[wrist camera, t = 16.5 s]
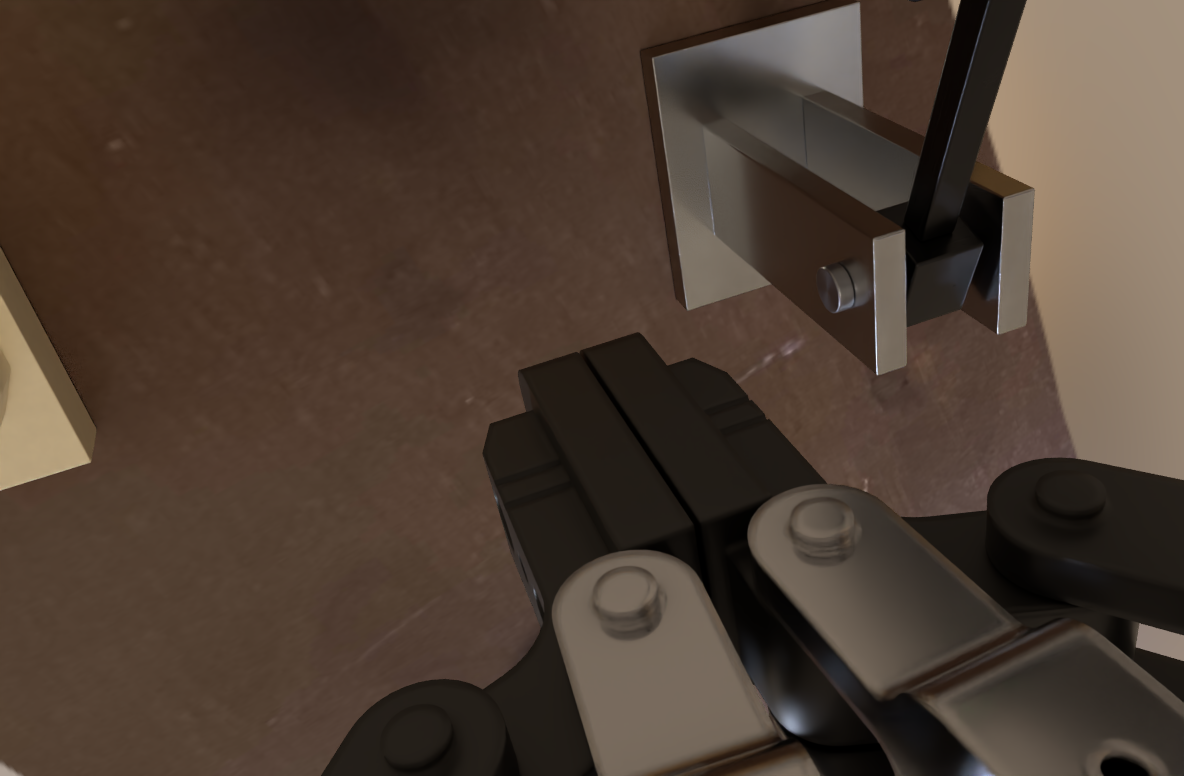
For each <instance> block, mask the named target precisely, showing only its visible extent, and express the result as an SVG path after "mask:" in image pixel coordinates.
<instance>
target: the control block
mask: <svg viewBox="0 0 1184 776" xmlns="http://www.w3.org/2000/svg"><path fill="white" fill-rule="evenodd" d="M96 431H97V429H96V427H95V425H94V423H93V422H92V420H91V418H90V416H89V414H88V412H87V410H86V408H85V406H84V405H83V403H82V401H81V399H80V397H79V395H78V393H77V391H76V389H75V387H74V386H73V384H72V382H71V380H70V378H69V376H68V374H67V372H66V370H65V369H64V367H63V365H62V363H61V361H60V359H59V357H58V355H57V353H56V351H55V350H54V348H53V346H52V344H51V342H50V340H49V338H48V336H47V334H46V332H45V331H44V329H43V327H42V325H41V323H40V321H39V319H38V317H37V315H36V314H35V312H34V310H33V308H32V306H31V304H30V302H29V300H28V298H27V296H26V295H25V293H24V291H23V289H22V287H21V285H20V283H19V281H18V279H17V278H16V276H15V274H14V272H13V270H12V268H11V266H10V264H9V262H8V260H7V259H6V257H5V255H4V253H3V251H2V249H1V247H0V490H3V489H6V488H10V487H13V486H16V485H19V484H23V483H26V482H29V481H32V480H35V479H39V478H42V477H45V476H48V475H51V474H55V473H58V472H61V471H64V470H68V469H71V468H74V467H77V466H80V465H84V464H87V463H90V462H91V460H92V454H93V448H94V442H95V437H96Z"/></svg>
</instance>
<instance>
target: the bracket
mask: <svg viewBox="0 0 1184 776" xmlns="http://www.w3.org/2000/svg"><path fill="white" fill-rule="evenodd" d="M641 59H642V66H643V73H644V80H645V87H646V94H647V101H648V107H649V114H650V121H651V128H652V135H653V142H654V149H655V156H656V163H657V170H658V176H659V183H660V190H661V197H662V204H663V211H664V218H665V225H666V232H667V238H668V245H669V252H670V259H671V266H672V273H673V280H674V287H675V294H676V299H677V300H678V301H679V302H680V303H681V305H682V306H683V307H684V308H685V309H686V310H687V311H689V310H692V309H695V308H698V307H702V306H705V305H708V304H711V303H714V302H717V301H720V300H724V299H727V298H730V297H733V296H736V295H739V294H743V293H746V292H749V291H752V290H755V289H758V288H761V287H765V286H768V285H771V284H772V285H773V286H774V287H775V288H777V289H778V290H779V291H780V292H781V293H782V294H784V295H785V296H786V297H787V298H788V299H789V300H791V301H792V302H793V303H794V304H795V305H796V306H797V307H799V308H800V309H801V310H802V311H803V312H804V313H806V314H807V315H808V316H809V317H810V318H811V319H813V320H814V321H815V322H816V323H817V324H818V325H820V326H821V327H822V328H823V329H824V330H825V331H826V332H828V333H829V334H830V335H831V336H832V337H833V338H835V339H836V340H837V341H838V342H839V343H840V344H842V345H843V346H844V347H845V348H846V349H847V350H848V351H850V352H851V353H852V354H853V355H854V356H855V357H857V358H858V359H859V360H860V361H861V362H862V363H864V364H865V365H866V366H867V367H868V368H869V369H871V370H872V371H873V372H874V373H875V374H876V375H881V374H884V373H887V372H890V371H893V370H896V369H899V368H902V367H905V366H906V365H907V335H906V232H905V229H904V228H902V227H901V226H899V225H897V224H896V223H894V222H893V221H891V220H889V219H888V218H886V217H885V216H883V215H881V214H880V213H878V212H876V211H878V210H881V209H884V208H887V207H891V206H894V205H897V204H900V203H903V202H907V201H909V198H910V194H911V190H912V186H913V182H914V178H915V175H916V171H917V167H918V163H919V159H920V155H921V151H922V148H923V144H924V140H925V137H924V136H922V135H920V134H918V133H916V132H914V131H912V130H909V129H907V128H905V127H903V126H901V125H899V124H897V123H895V122H893V121H890V120H888V119H886V118H884V117H882V116H880V115H878V114H876V113H873V112H871V111H869V110H867V109H865V108H863V77H862V45H861V13H860V2H859V1H856V0H828V1H824V2H821V3H817V4H813V5H809V6H806V7H802V8H798V9H794V10H791V11H787V12H783V13H779V14H776V15H772V16H768V17H764V18H761V19H757V20H753V21H750V22H746V23H742V24H738V25H735V26H731V27H727V28H723V29H720V30H716V31H712V32H708V33H705V34H701V35H697V36H693V37H690V38H686V39H682V40H678V41H675V42H671V43H667V44H664V45H660V46H656V47H652V48H649V49H645V50H642V51H641ZM1034 191H1035V190H1034V188H1032V187H1030V186H1028V185H1026V184H1024V183H1022V182H1019V181H1017V180H1015V179H1013V178H1011V177H1009V176H1007V175H1005V174H1003V173H1000V172H998V171H996V170H994V169H992V168H990V167H988V166H986V165H984V164H981V163H979V162H977V161H976V163H975V166H974V169H973V172H972V175H971V178H970V182H969V185H968V188H967V191H966V194H965V197H964V201H963V204H962V207H961V210H960V213H959V215H960V217H961V218H962V219H963V220H964V221H965V222H966V224H967V225H968V226H969V227H970V228H971V229H972V230H973V232H974V233H975V234H976V235H977V236H978V237H979V239H980V240H981V241H982V242H983V245H984V246H983V249H982V252H981V254H980V257H979V260H978V263H977V266H976V269H975V271H974V274H973V277H972V280H971V283H970V286H969V288H968V291H967V294H966V297H965V300H964V303H963V305H962V308H961V310H962V311H964V312H965V313H966V314H968V315H969V316H971V317H972V318H974V319H975V320H977V321H978V322H980V323H981V324H983V325H984V326H986V327H987V328H989V329H990V330H991V331H993V332H994V333H996V334H998V335H1000V334H1003V333H1006V332H1008V331H1011V330H1014V329H1017V328H1020V327H1023V326H1025V325H1026V321H1027V305H1028V289H1029V273H1030V256H1031V241H1032V225H1033V208H1034Z"/></svg>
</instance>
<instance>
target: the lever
mask: <svg viewBox="0 0 1184 776" xmlns="http://www.w3.org/2000/svg"><path fill="white" fill-rule="evenodd" d="M909 1H913V2H917V1H921V0H909ZM1026 1H1027V0H961V1H960V5H959V9H958V12H957V16H956V20H955V24H954V28H953V32H952V36H951V39H950V43H949V47H948V51H947V55H946V59H945V63H944V66H943V70H942V74H941V78H940V82H939V86H938V90H937V94H936V97H935V101H934V105H933V109H932V113H931V117H930V121H929V124H928V128H927V132H926V136H925V140H924V144H923V148H922V151H921V155H920V159H919V163H918V167H917V171H916V175H915V178H914V182H913V186H912V190H911V194H910V198H909V201H907V202H903V203H900V204H897V205H894V206H891V207H887V208H884V209H881V210H878V211H876V212H878V213H880V214H881V215H883V216H885V217H886V218H888V219H889V220H891V221H893V222H894V223H896V224H897V225H899V226H901V227H902V228H904V229H905V232H906V327H909V326H912V325H915V324H918V323H921V322H924V321H927V320H930V319H933V318H936V317H939V316H942V315H945V314H948V313H951V312H954V311H957V310H960V309H961V308H962V305H963V303H964V300H965V297H966V294H967V291H968V288H969V286H970V283H971V280H972V277H973V274H974V271H975V269H976V266H977V263H978V260H979V257H980V254H981V252H982V249H983V246H984V245H983V242H982V241H981V240H980V239H979V237H978V236H977V235H976V234H975V233H974V232H973V230H972V229H971V228H970V227H969V226H968V225H967V224H966V222H965V221H964V220H963V219H962V218H961V217H960V215H959V213H960V210H961V207H962V204H963V201H964V197H965V194H966V191H967V188H968V185H969V182H970V178H971V175H972V172H973V169H974V166H975V163H976V159H977V156H978V153H979V150H980V147H981V144H982V140H983V137H984V134H985V131H986V128H987V125H988V121H989V118H990V115H991V111H992V109H993V105H994V102H995V99H996V96H997V93H998V89H999V86H1000V83H1001V80H1002V77H1003V74H1004V70H1005V67H1006V64H1007V61H1008V58H1009V55H1010V52H1011V48H1012V45H1013V42H1014V39H1015V35H1016V32H1017V29H1018V26H1019V23H1020V20H1021V16H1022V13H1023V10H1024V7H1025V4H1026Z"/></svg>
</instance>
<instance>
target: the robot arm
mask: <svg viewBox="0 0 1184 776" xmlns="http://www.w3.org/2000/svg"><path fill="white" fill-rule="evenodd" d="M518 378H519V384H520V388H521V392H522V396H523V400H524V404H525V408H526V412H525V413H522V414H519V415H516V416H513V417H510V418H507V419H503V420H500V421H497V422H494V423H491V424H490V426H489V430H488V433H487V437H486V441H485V445H484V449H483V453H482V454H483V457H484V461H485V464H486V468H487V471H488V475H489V478H490V482H491V485H492V489H493V492H494V496H495V499H496V503H497V506H498V510H499V513H500V517H501V520H502V524H503V527H504V531H505V534H506V538H507V541H508V545H509V548H510V552H511V554H512V557H513V559H514V562H515V564H516V567H517V569H518V572H519V574H520V577H521V579H522V582H523V583H524V586H525V589H526V592H527V594H528V597H529V599H530V602H531V604H532V606H533V608H534V611H535V614H536V616H537V619H538V621H539V624H540V626H541V630H540V633H539V635H538V637H537V639H536V641H535V643H534V645H533V646H532V647H531V649H530V650H529V651H528V653H527V654H526V655H525V656H524V657H523V658H522V660H521V661H520V662H519V663H518V664H517V665H516V666H514V667H513V668H512V669H511V670H509V671H508V672H507V673H506V674H504V675H503V676H502V677H500V678H499V679H497V680H496V681H494V682H493V683H492V684H490V685H489V686H487V687H486V688H484V689H483V690H482V689H481V688H479V687H477V686H474V685H472V684H470V683H466V682H463V681H459V680H449V679H439V680H429V681H424V682H418V683H415V684H412V685H409V686H406V687H403V688H401V689H399V690H397V691H395V692H393V693H391V694H389V695H388V696H386V697H384V698H383V699H381V700H380V701H378V702H377V703H376V704H374V705H373V706H372V707H371V708H369V709H368V710H367V711H366V712H365V713H364V714H363V715H362V716H361V717H360V718H359V719H358V720H357V722H356V723H355V724H354V726H353V727H352V728H351V730H350V731H349V732H348V734H347V736H346V737H345V739H344V740H343V742H342V743H341V745H340V747H339V748H338V750H337V751H336V753H335V755H334V756H333V758H332V759H331V761H330V762H329V764H328V766H327V767H326V769H325V770H324V772H323V773H322V775H321V776H1184V661H1181V660H1177V659H1174V658H1171V657H1167V656H1164V655H1160V654H1157V653H1153V652H1150V651H1146V650H1143V649H1140V648H1136V641H1137V635H1138V628H1139V623H1141V624H1145V625H1148V626H1152V627H1155V628H1159V629H1163V630H1167V631H1170V632H1174V633H1177V634H1181V635H1184V480H1180V479H1175V478H1170V477H1165V476H1160V475H1155V474H1151V473H1146V472H1141V471H1136V470H1131V469H1126V468H1121V467H1116V466H1111V465H1107V464H1102V463H1097V462H1092V461H1087V460H1081V459H1074V458H1044V459H1037V460H1032V461H1028V462H1024V463H1021V464H1018V465H1016V466H1014V467H1011V468H1010V469H1008V470H1006V471H1005V472H1003V473H1002V474H1001V475H1000V476H998V477H997V478H996V479H995V481H994V482H993V483H992V485H991V486H990V489H989V492H988V496H987V510H986V511H977V512H967V513H958V514H949V515H940V516H930V517H900V516H899V515H898V514H896V513H895V512H894V511H893V510H892V509H891V508H890V507H889V506H887V505H886V504H885V503H884V502H882V501H881V500H880V499H878V498H877V497H875V496H873V495H871V494H869V493H867V492H865V491H862V490H859V489H857V488H853V487H848V486H844V485H835V484H827V483H826V481H825V480H824V479H823V478H822V477H821V476H820V475H819V474H818V473H817V472H816V470H815V469H814V468H813V467H812V466H811V465H810V464H809V463H808V462H807V460H806V459H805V458H804V457H803V456H802V455H801V454H800V453H799V452H798V451H797V449H796V448H795V447H794V446H793V445H792V444H791V443H790V442H789V441H788V439H787V438H786V437H785V436H784V435H783V434H782V433H781V432H780V431H779V429H778V428H777V427H776V426H775V425H774V424H773V423H772V422H771V421H770V420H769V419H768V420H767V419H766V417H765V414H764V413H763V412H762V411H761V410H760V408H759V407H758V406H757V405H756V404H755V403H754V402H753V401H752V400H750V401H749V399H748V395H747V394H746V393H745V392H744V391H743V390H742V389H741V387H740V386H739V385H738V384H737V383H736V382H735V381H734V380H733V379H732V377H731V376H730V375H729V374H728V373H727V372H725V371H722V370H720V369H718V368H716V367H713V366H711V365H709V364H706V363H704V362H702V361H699V360H697V359H695V358H690V359H687V360H684V361H681V362H678V363H675V364H671V365H668V366H667V365H666V364H665V362H664V361H663V360H662V359H661V357H660V356H659V355H658V354H657V352H656V351H655V350H654V349H653V348H652V346H651V345H650V344H649V343H648V341H647V340H646V339H645V338H644V336H643V335H642V334H640V333H638V332H637V333H634V334H630V335H627V336H624V337H621V338H618V339H615V340H612V341H608V342H605V343H602V344H599V345H596V346H593V347H590V348H586V349H583V350H581V351H580V353H578V352H575V353H571V354H568V355H565V356H562V357H559V358H556V359H553V360H549V361H546V362H543V363H540V364H537V365H534V366H531V367H527V368H524V369H521V370H519V371H518ZM754 684H755V686H756V687H757V689H758V690H759V692H760V694H761V695H762V697H763V699H764V700H765V702H766V703H767V705H768V711H769V716H768V714H767V712H766V710H765V708H764V706H763V704H762V702H761V700H760V698H759V696H758V694H757V692H756V690H755V688H754V686H753V685H754Z"/></svg>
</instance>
